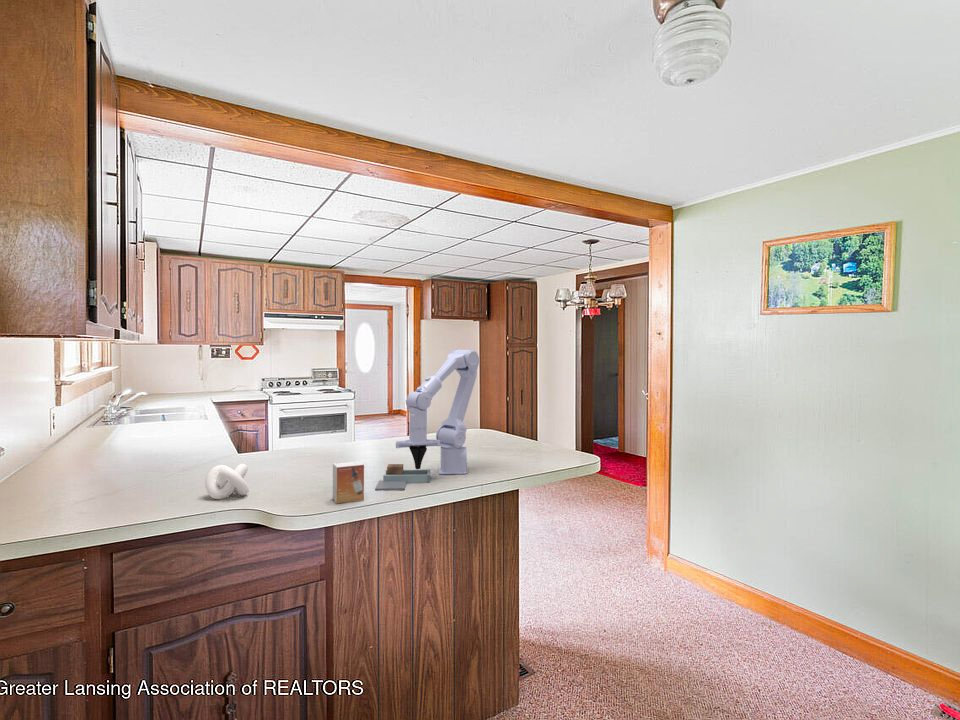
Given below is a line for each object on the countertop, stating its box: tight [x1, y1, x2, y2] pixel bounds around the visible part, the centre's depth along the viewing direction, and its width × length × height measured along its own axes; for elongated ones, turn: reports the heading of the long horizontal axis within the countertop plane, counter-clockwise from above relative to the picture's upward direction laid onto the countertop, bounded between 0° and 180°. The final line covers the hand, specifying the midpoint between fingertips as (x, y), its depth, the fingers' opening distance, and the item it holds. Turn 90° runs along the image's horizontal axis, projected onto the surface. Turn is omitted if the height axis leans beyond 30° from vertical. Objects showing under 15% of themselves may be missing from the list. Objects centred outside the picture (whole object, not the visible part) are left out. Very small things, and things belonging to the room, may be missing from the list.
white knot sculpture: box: [204, 463, 250, 500], centre depth 146 cm, size 11×12×9 cm
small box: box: [332, 460, 365, 504], centre depth 143 cm, size 8×6×10 cm
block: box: [386, 463, 404, 475], centre depth 164 cm, size 5×4×5 cm
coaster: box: [374, 480, 408, 492], centre depth 157 cm, size 9×9×1 cm
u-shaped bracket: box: [382, 469, 431, 484], centre depth 164 cm, size 15×7×2 cm, turn 94°
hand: (417, 468), depth 164 cm, fingers closed
